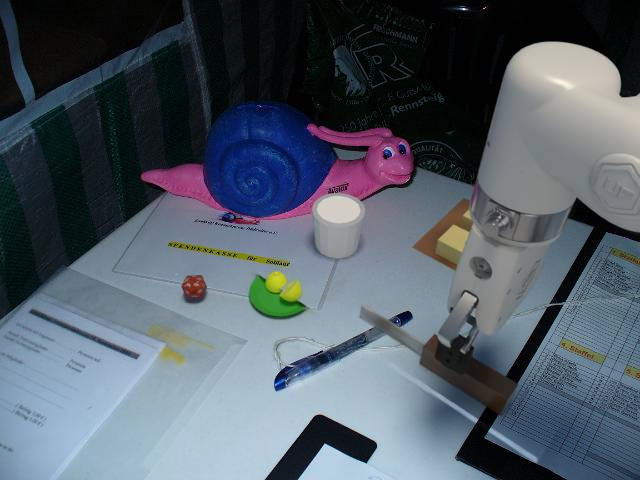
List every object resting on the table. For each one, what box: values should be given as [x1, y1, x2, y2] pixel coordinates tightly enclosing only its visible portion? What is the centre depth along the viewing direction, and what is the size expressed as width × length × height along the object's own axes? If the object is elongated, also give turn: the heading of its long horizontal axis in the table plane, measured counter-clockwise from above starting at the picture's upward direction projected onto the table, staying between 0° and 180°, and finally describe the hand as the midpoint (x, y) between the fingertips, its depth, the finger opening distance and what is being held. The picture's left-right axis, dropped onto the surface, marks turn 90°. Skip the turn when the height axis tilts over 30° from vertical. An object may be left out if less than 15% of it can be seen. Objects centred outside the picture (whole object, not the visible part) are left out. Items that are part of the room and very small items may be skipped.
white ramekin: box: [311, 192, 366, 260], centre depth 78 cm, size 7×7×7 cm
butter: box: [435, 225, 470, 265], centre depth 78 cm, size 6×4×2 cm, turn 50°
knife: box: [359, 303, 519, 417], centre depth 66 cm, size 19×2×4 cm, turn 50°
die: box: [180, 274, 208, 300], centre depth 73 cm, size 3×3×3 cm
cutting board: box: [411, 197, 471, 272], centre depth 81 cm, size 12×14×1 cm
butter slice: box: [460, 210, 474, 232], centre depth 81 cm, size 6×3×2 cm, turn 50°
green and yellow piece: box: [248, 270, 308, 317], centre depth 73 cm, size 8×8×3 cm
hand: (475, 334), depth 59 cm, fingers open, 9 cm apart
